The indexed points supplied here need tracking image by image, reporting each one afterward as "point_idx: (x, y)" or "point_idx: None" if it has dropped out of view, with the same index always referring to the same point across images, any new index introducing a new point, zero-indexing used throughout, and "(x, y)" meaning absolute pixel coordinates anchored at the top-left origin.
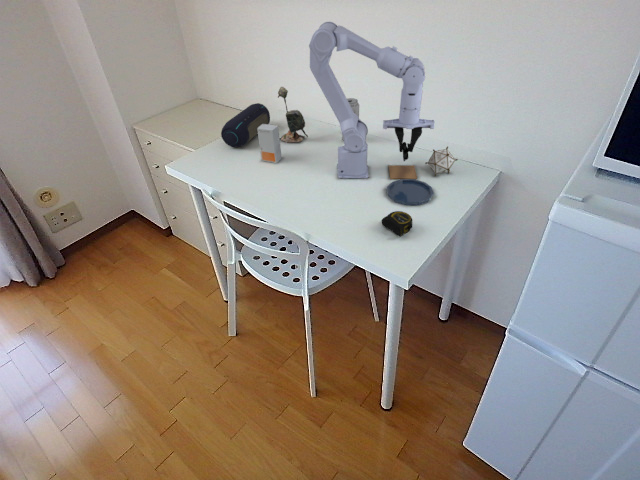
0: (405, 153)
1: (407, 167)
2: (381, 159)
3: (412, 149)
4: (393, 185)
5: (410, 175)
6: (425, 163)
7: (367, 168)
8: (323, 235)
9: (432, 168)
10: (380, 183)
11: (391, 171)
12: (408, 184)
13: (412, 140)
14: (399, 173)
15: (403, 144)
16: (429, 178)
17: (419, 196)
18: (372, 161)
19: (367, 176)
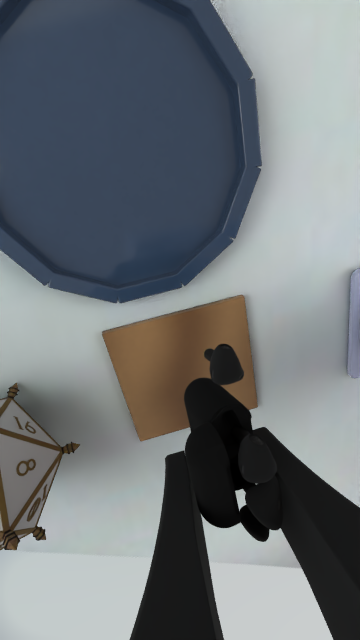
0: (224, 403)
1: (169, 415)
2: (286, 445)
3: (170, 474)
4: (221, 220)
5: (143, 350)
6: (75, 443)
7: (353, 351)
8: None
9: (29, 420)
10: (287, 238)
11: (241, 360)
12: (138, 253)
13: (203, 574)
14: (201, 353)
15: (280, 491)
16: (39, 357)
17: (36, 107)
18: (323, 421)
19: (358, 277)
